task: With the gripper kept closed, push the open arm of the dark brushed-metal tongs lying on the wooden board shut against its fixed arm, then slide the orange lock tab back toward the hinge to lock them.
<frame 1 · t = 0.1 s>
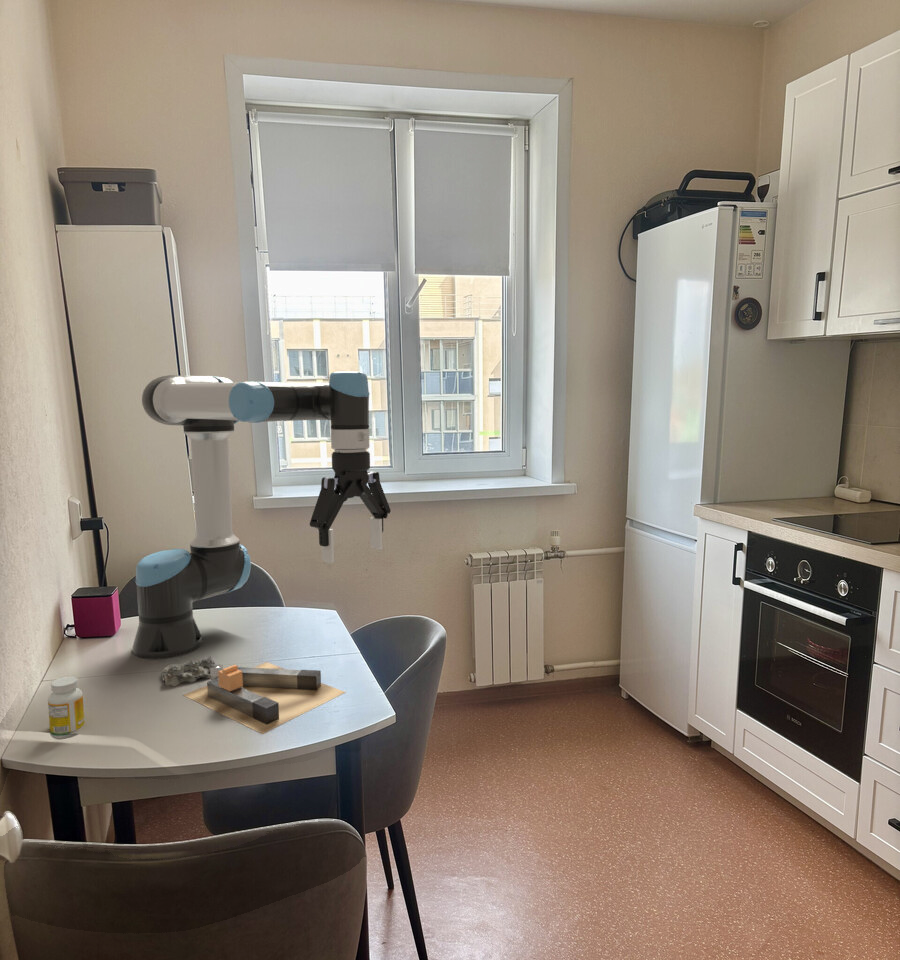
hand: (353, 555, 131), 28 cm above the table, fingers open, 13 cm apart
lock tab: (230, 676, 123), point 6 cm above the table, slide at 0.0 cm
tongs fixed: (217, 687, 130), resting on board
board: (265, 699, 128), on the table
supplement bottle: (68, 733, 115), on the table
grey lumpy stone piece: (190, 683, 136), on the table
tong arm: (274, 678, 131), point 3 cm above the table, hinge at 30.0°
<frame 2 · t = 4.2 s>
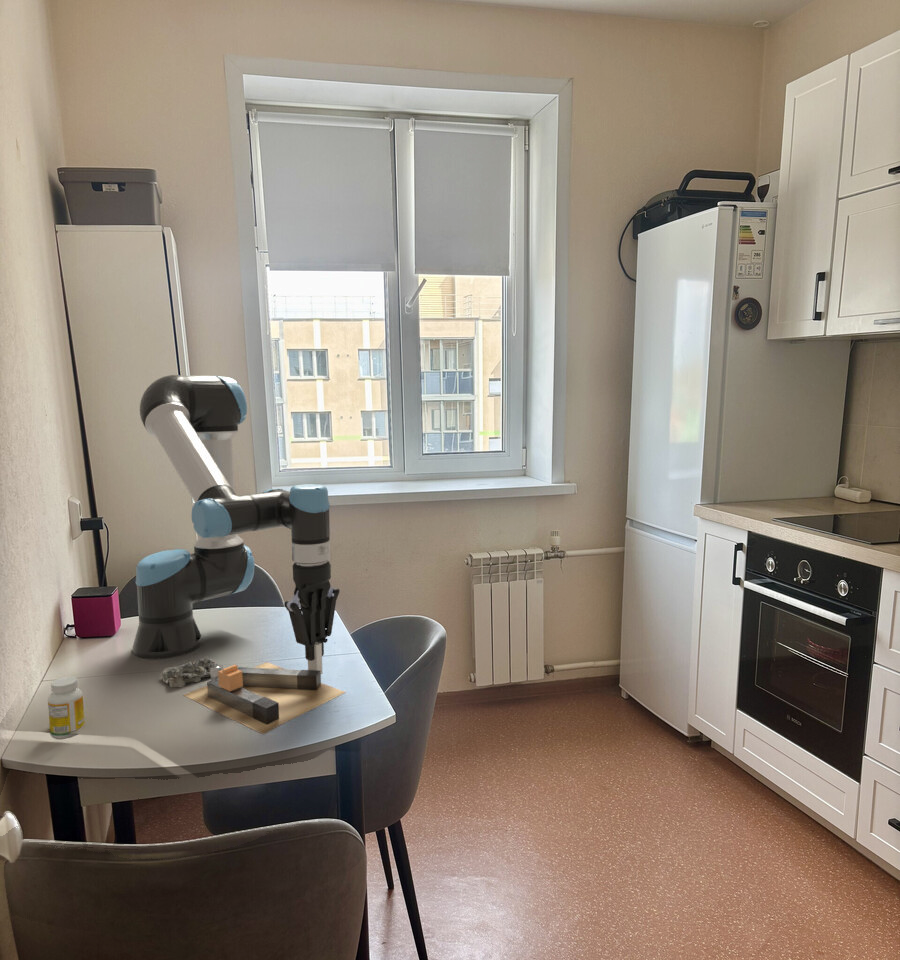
hand: (315, 673, 133), 3 cm above the table, fingers closed
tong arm: (274, 678, 131), point 3 cm above the table, hinge at 29.9°, touching gripper
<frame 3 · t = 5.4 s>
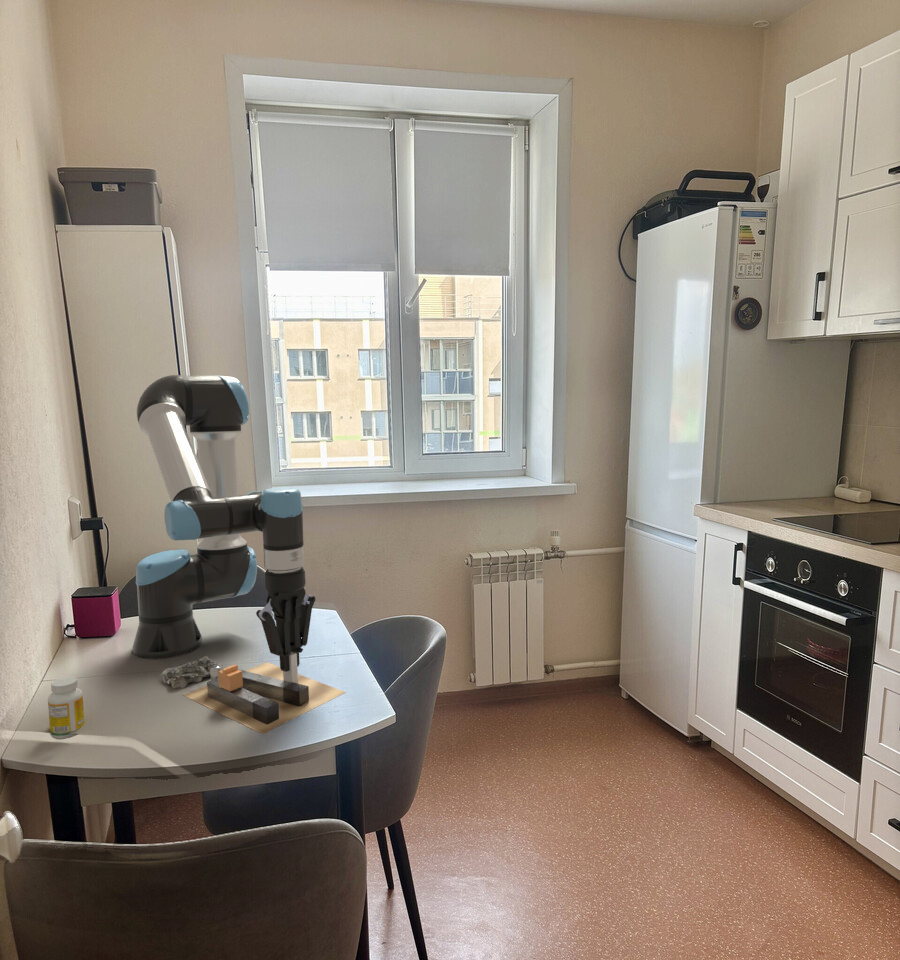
hand: (290, 684, 127), 3 cm above the table, fingers closed
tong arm: (267, 686, 127), point 3 cm above the table, hinge at 9.9°, touching gripper
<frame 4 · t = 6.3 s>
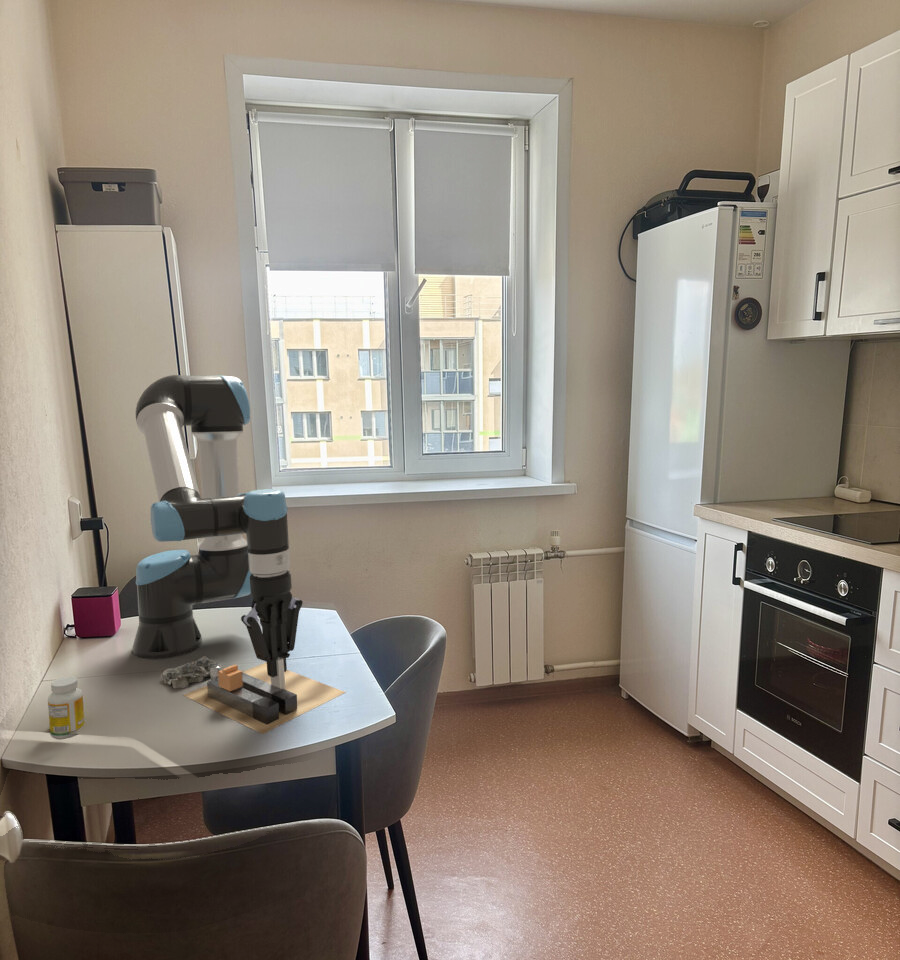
hand: (278, 690, 125), 3 cm above the table, fingers closed
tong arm: (260, 691, 125), point 3 cm above the table, hinge at -0.5°, touching gripper
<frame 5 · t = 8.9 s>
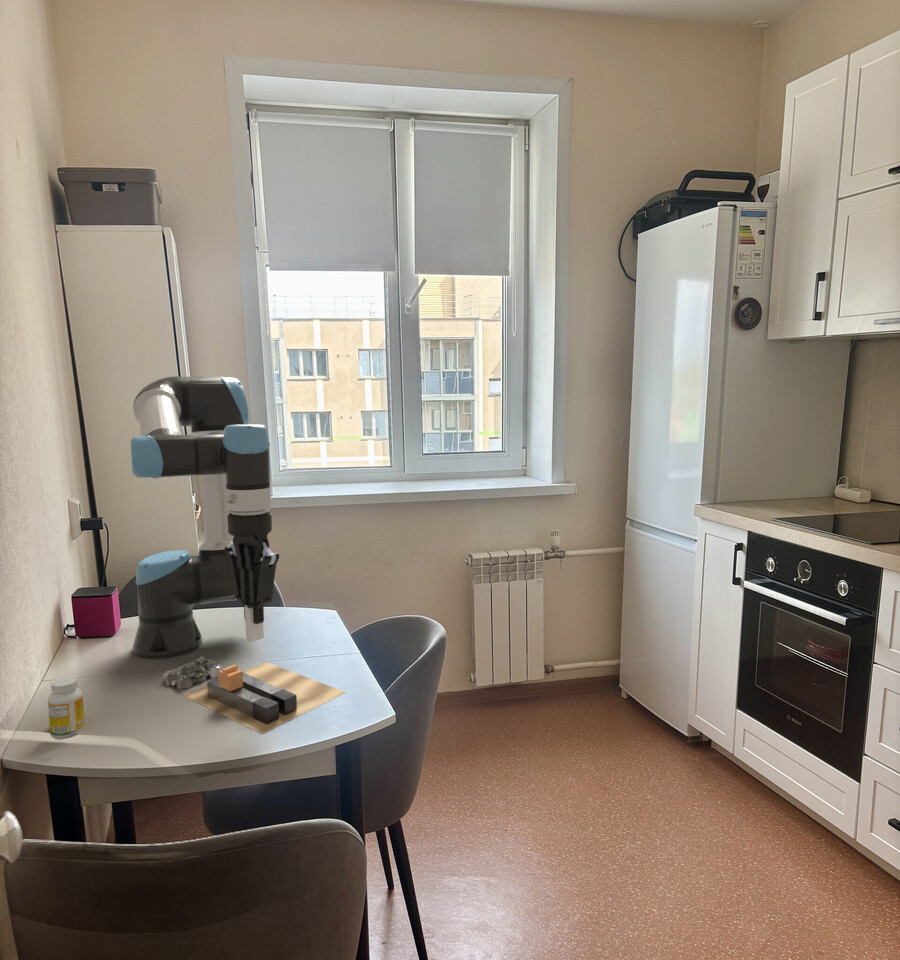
hand: (255, 639, 117), 16 cm above the table, fingers closed
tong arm: (260, 691, 125), point 3 cm above the table, hinge at -0.8°
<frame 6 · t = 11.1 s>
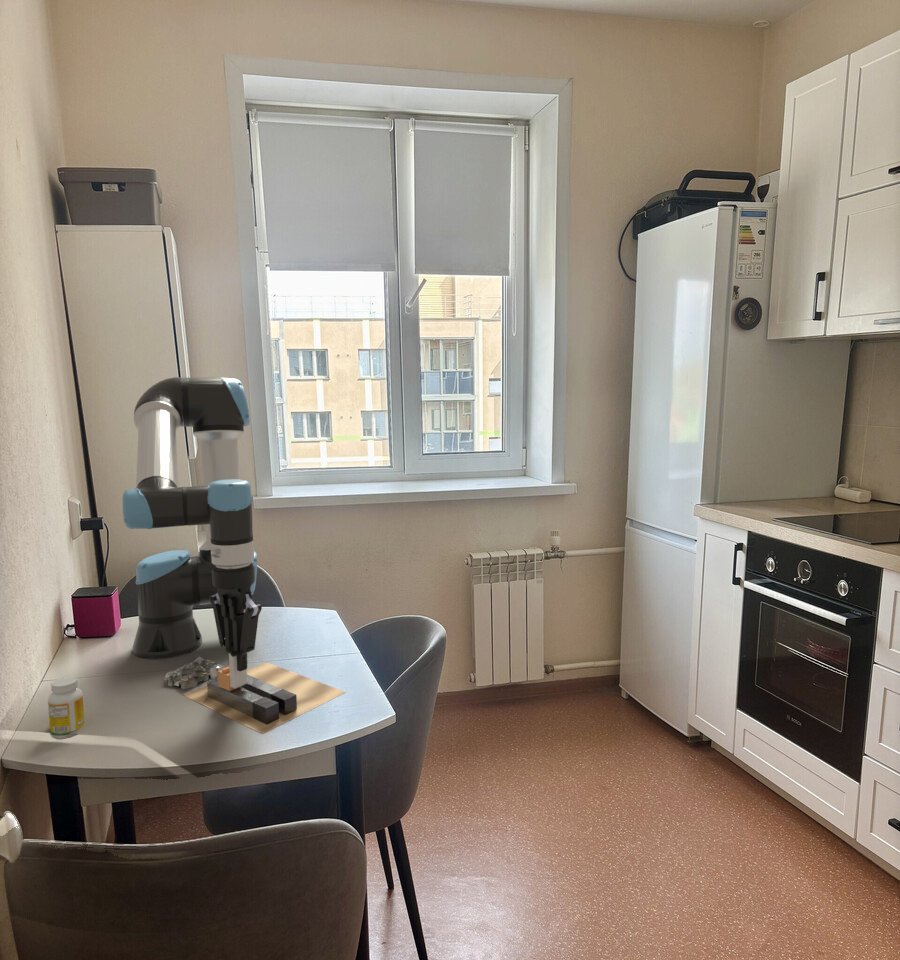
hand: (238, 684, 122), 5 cm above the table, fingers closed
lock tab: (229, 676, 123), point 6 cm above the table, slide at 0.2 cm, touching gripper
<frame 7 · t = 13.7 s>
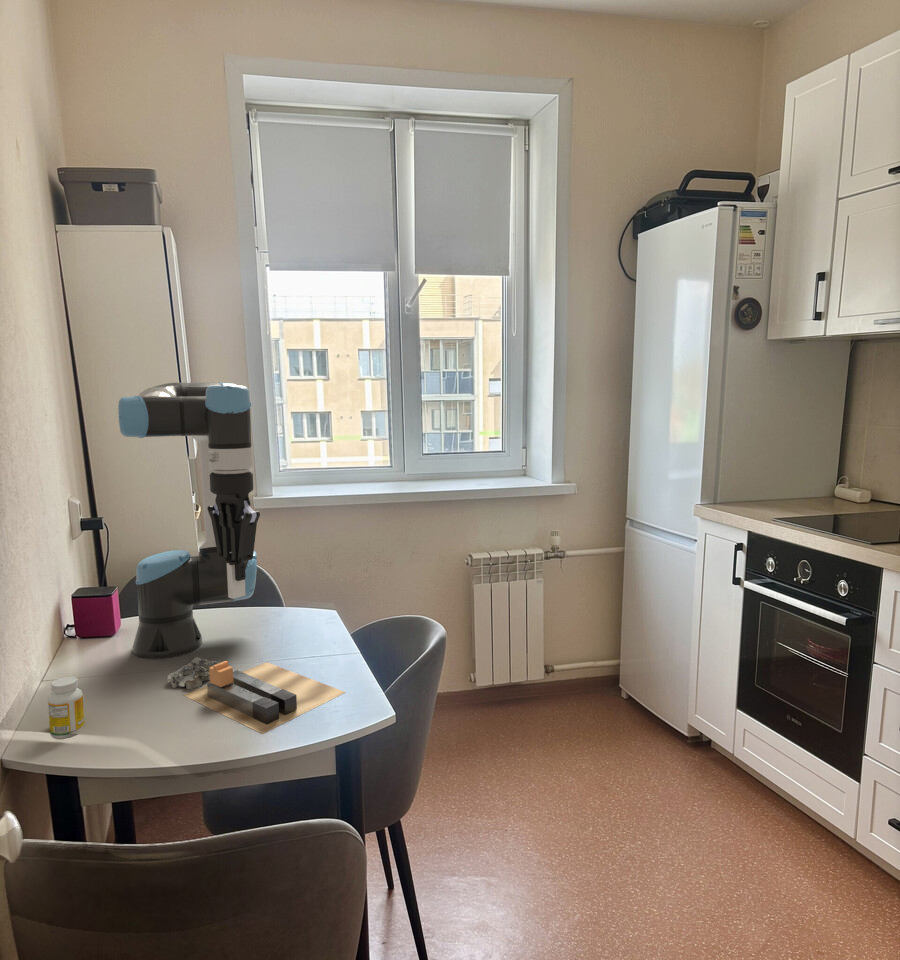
hand: (236, 596, 120), 23 cm above the table, fingers closed
lock tab: (221, 672, 125), point 6 cm above the table, slide at 3.0 cm
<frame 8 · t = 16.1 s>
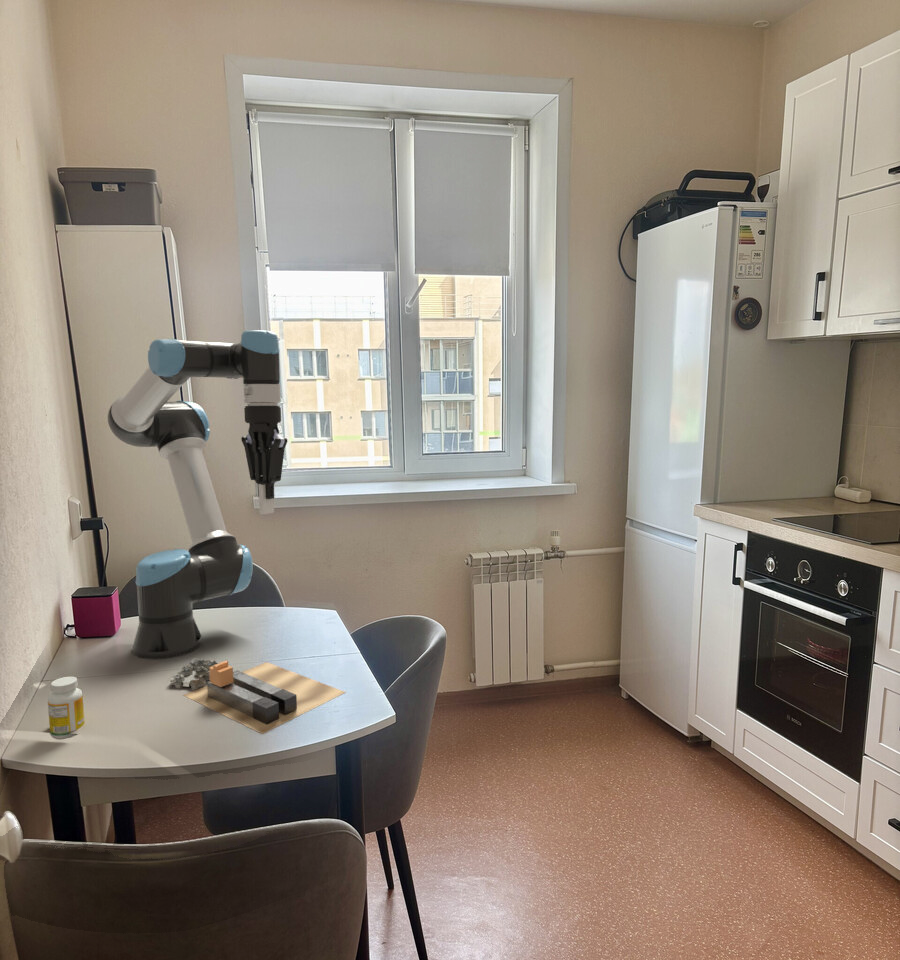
hand: (266, 513, 141), 34 cm above the table, fingers closed
at the end: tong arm at -1° (first picture: +30°); lock tab slide at 3.0 cm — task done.
